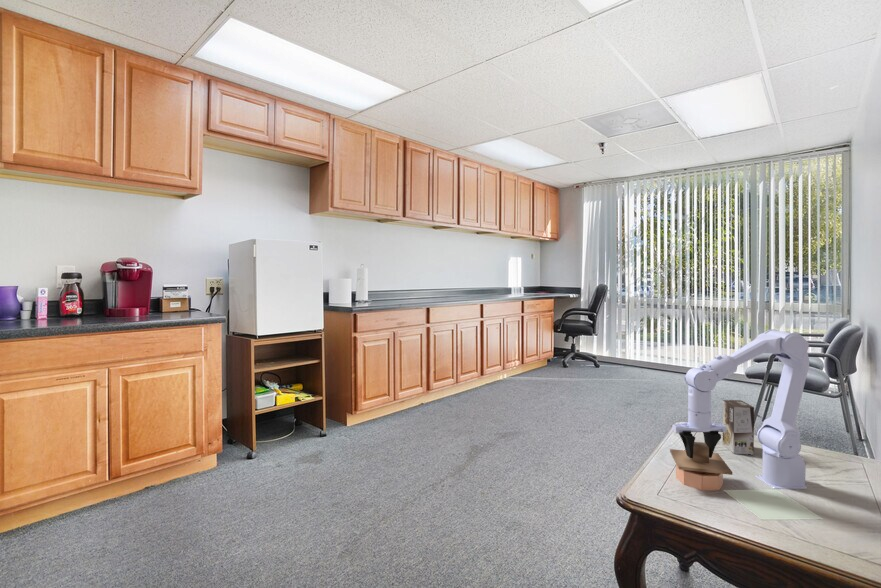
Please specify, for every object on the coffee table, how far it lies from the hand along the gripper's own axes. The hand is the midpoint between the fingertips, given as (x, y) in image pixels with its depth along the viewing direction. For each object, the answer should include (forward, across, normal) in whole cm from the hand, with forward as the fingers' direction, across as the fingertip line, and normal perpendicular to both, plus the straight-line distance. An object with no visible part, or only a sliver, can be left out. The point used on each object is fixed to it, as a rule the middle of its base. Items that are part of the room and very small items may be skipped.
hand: (699, 456), depth 127 cm
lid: (+2, 0, 0) cm, 2 cm away
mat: (+8, -11, +13) cm, 19 cm away
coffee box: (+8, -27, -24) cm, 37 cm away
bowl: (+8, 0, 0) cm, 8 cm away
